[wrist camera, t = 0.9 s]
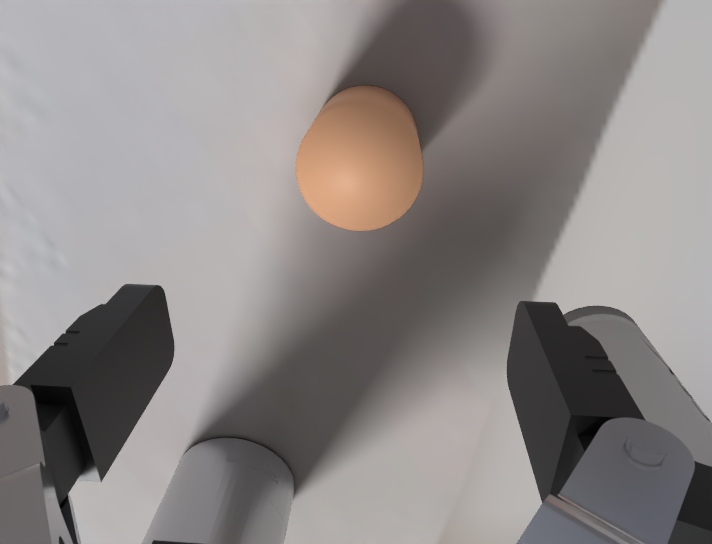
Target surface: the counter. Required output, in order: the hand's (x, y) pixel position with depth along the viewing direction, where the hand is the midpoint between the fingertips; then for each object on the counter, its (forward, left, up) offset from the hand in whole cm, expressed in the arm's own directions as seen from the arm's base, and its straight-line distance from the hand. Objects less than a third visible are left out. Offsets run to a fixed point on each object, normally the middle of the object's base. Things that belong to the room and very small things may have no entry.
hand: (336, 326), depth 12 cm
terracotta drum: (0, 0, -18) cm, 18 cm away
